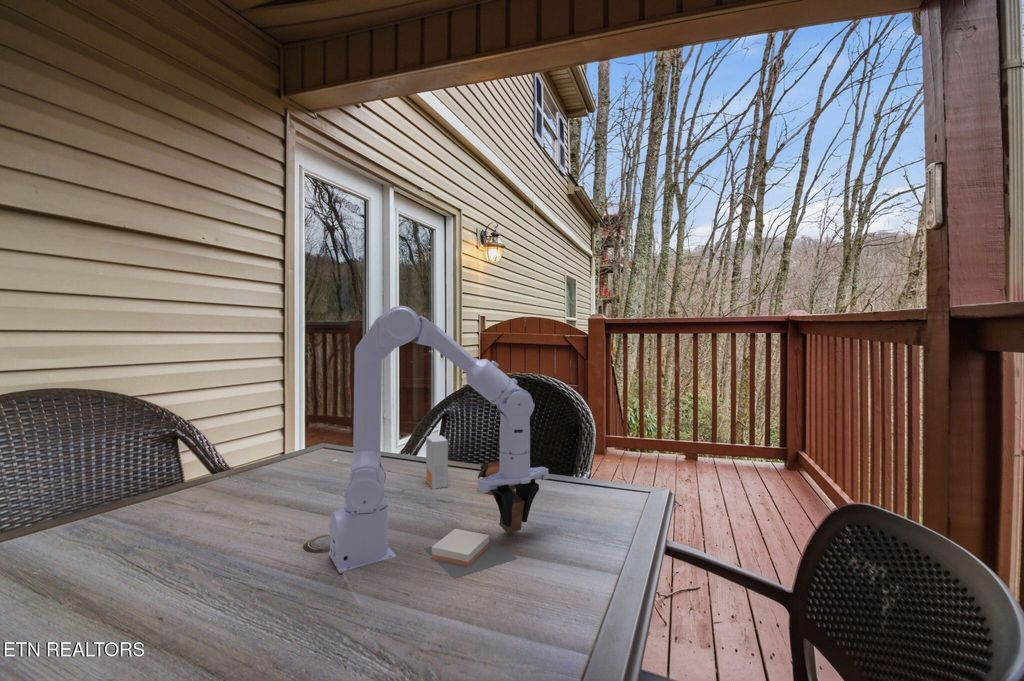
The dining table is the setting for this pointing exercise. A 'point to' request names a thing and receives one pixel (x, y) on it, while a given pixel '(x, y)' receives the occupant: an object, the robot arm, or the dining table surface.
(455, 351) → the robot arm
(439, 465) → the skincare box
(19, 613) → the dining table surface
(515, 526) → the walnut block
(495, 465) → the pottery mug
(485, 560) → the mat
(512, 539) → the dining table surface
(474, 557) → the whetstone
